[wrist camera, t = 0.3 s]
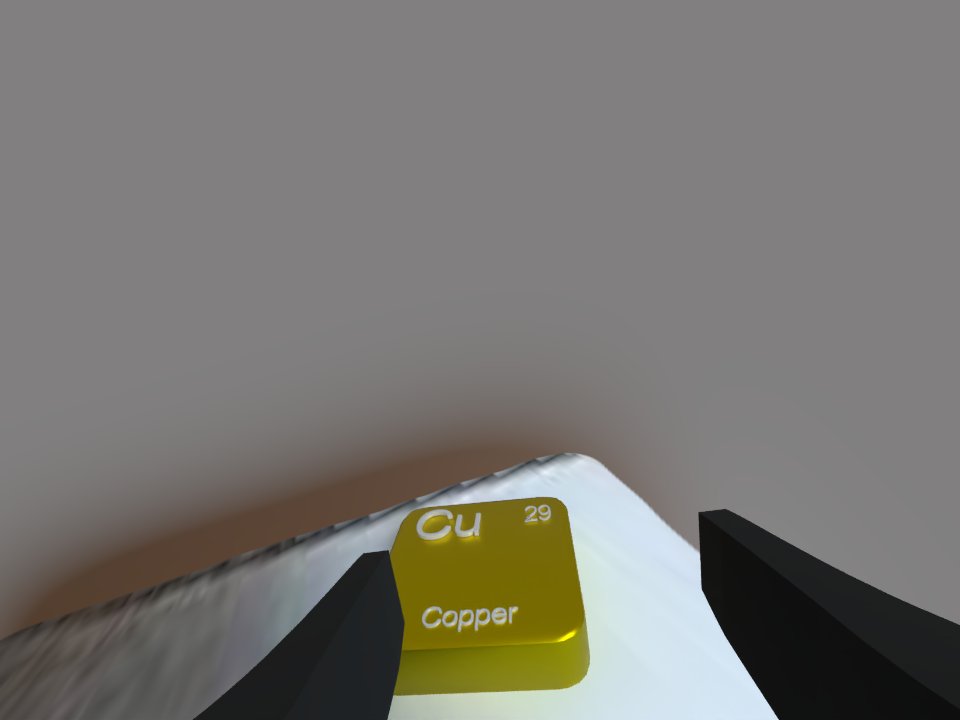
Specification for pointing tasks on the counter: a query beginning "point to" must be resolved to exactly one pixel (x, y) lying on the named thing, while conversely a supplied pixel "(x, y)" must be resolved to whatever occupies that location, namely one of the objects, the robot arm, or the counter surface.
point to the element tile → (489, 599)
